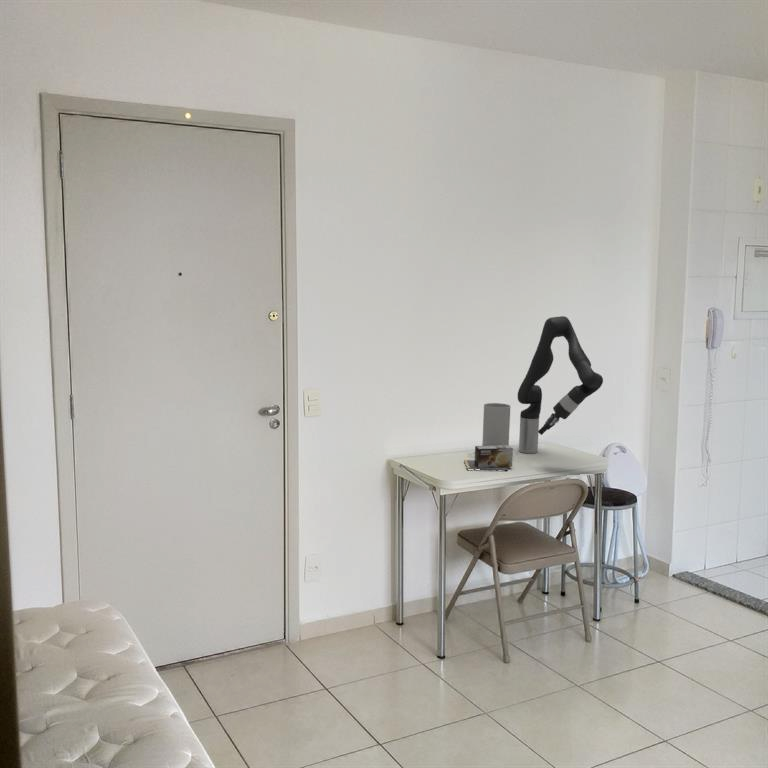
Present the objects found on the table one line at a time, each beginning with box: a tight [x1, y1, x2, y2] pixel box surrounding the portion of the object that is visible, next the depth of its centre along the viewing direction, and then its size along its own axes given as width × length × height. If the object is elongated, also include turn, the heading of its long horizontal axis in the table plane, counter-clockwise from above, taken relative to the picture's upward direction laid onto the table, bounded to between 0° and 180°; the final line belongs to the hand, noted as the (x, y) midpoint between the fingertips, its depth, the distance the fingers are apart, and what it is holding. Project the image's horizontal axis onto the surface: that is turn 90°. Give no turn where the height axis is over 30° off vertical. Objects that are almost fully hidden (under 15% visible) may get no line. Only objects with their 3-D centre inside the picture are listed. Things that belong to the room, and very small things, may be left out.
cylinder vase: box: [481, 402, 511, 446], centre depth 378 cm, size 12×12×25 cm
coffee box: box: [474, 444, 514, 468], centre depth 357 cm, size 9×6×16 cm
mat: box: [463, 459, 509, 472], centre depth 360 cm, size 16×18×1 cm
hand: (539, 433), depth 356 cm, fingers closed
